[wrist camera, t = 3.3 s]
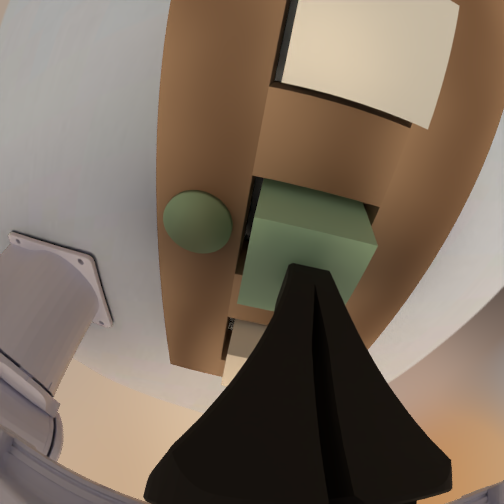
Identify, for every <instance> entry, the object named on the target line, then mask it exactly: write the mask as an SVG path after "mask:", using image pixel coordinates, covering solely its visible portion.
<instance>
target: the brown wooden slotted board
mask: <svg viewBox="0 0 504 504" xmlns="http://www.w3.org/2000/svg"><path fill="white" fill-rule="evenodd" d="M451 1H452V2H454V3H456V4H457V5H459V12H458V18H457V24H456V29H455V34H454V39H453V43H452V48H451V52H450V56H449V61H448V65H447V68H446V72H445V76H444V80H443V83H442V87H441V90H440V94H439V97H438V100H437V103H436V107H435V110H434V113H433V116H432V119H431V122H430V125H429V128H428V129H425V128H423V127H421V126H419V125H416V124H414V123H412V122H409V121H407V120H404V119H402V118H400V117H397V116H394V115H392V114H389V113H387V112H384V111H381V110H378V109H376V108H373V107H370V106H367V105H364V104H361V103H358V102H355V101H352V100H348V99H345V98H342V97H338V96H335V95H332V94H328V93H324V92H321V91H317V90H313V89H309V88H305V87H300V86H296V85H291V84H287V83H282V82H278V81H274V80H275V75H276V70H277V65H278V60H279V55H280V50H281V45H282V40H283V35H284V30H285V26H286V21H287V16H288V11H289V6H290V2H291V0H171V3H170V9H169V15H168V21H167V28H166V35H165V43H164V51H163V59H162V69H161V80H160V92H159V106H158V125H157V157H156V197H157V230H158V249H159V265H160V278H161V289H162V300H163V309H164V318H165V327H166V335H167V342H168V349H169V356H170V363H171V364H173V365H177V366H180V367H184V368H188V369H192V370H196V371H200V372H204V373H208V374H212V375H217V376H221V377H223V373H224V368H225V363H226V357H227V352H228V348H229V344H230V339H231V335H232V331H231V330H228V325H229V320H230V318H235V319H240V320H244V321H249V322H254V323H259V324H264V325H268V324H269V322H270V320H271V318H272V316H273V314H274V311H269V310H264V309H260V308H255V307H250V306H245V305H241V304H237V301H238V296H239V291H240V286H241V281H242V276H243V270H244V265H245V260H246V255H247V250H248V245H249V242H248V241H244V236H245V231H246V225H247V220H248V215H249V209H250V204H251V199H252V193H253V188H254V183H255V177H256V176H258V177H262V178H267V179H272V180H276V181H281V182H285V183H290V184H294V185H298V186H303V187H307V188H311V189H315V190H319V191H323V192H327V193H331V194H334V195H338V196H342V197H346V198H349V199H353V200H357V201H360V202H363V205H364V208H365V210H366V213H367V216H368V219H369V221H370V224H371V227H372V230H373V233H374V236H375V239H376V242H377V245H378V247H377V249H376V251H375V253H374V255H373V256H372V258H371V260H370V262H369V264H368V266H367V268H366V270H365V272H364V273H363V275H362V277H361V279H360V281H359V282H358V284H357V286H356V288H355V290H354V291H353V293H352V295H351V297H350V298H349V300H348V302H347V303H346V305H345V306H346V308H347V310H348V312H349V314H350V316H351V319H352V321H353V323H354V325H355V327H356V329H357V331H358V333H359V335H360V337H361V339H362V341H363V343H364V344H365V346H366V348H367V350H368V349H369V348H370V346H371V345H372V344H373V343H374V342H375V340H376V339H377V338H378V337H379V335H380V334H381V333H382V332H383V330H384V329H385V328H386V327H387V325H388V324H389V323H390V322H391V320H392V319H393V318H394V316H395V315H396V314H397V312H398V311H399V310H400V308H401V307H402V306H403V304H404V303H405V301H406V300H407V299H408V297H409V296H410V294H411V293H412V292H413V290H414V289H415V287H416V286H417V284H418V283H419V281H420V280H421V278H422V277H423V275H424V274H425V272H426V271H427V269H428V268H429V266H430V265H431V263H432V261H433V260H434V258H435V257H436V255H437V253H438V252H439V250H440V248H441V247H442V245H443V243H444V242H445V240H446V238H447V236H448V235H449V233H450V231H451V229H452V228H453V226H454V224H455V222H456V220H457V218H458V217H459V215H460V213H461V211H462V209H463V207H464V205H465V203H466V201H467V199H468V197H469V195H470V193H471V191H472V189H473V186H474V184H475V182H476V180H477V178H478V176H479V173H480V171H481V169H482V166H483V164H484V162H485V159H486V157H487V154H488V152H489V149H490V147H491V144H492V141H493V139H494V136H495V133H496V130H497V127H498V125H499V122H500V118H501V115H502V112H503V109H504V0H451Z"/></svg>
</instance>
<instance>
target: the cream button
mask: <svg viewBox="0 0 504 504" xmlns="http://www.w3.org/2000/svg"><path fill="white" fill-rule="evenodd" d="M267 326H268V325H264V324H259V323H254V322H249V321H244V320H240V319H235V321H234V326H233V330H232V335H231V339H230V344H229V348H228V352H227V357H226V363H225V368H224V373H223V378H222V383H221V385H224V386H228V385H229V383H230V382H231V381H232V380H233V378H234V377H235V376H236V374H237V373H238V371H239V370H240V369H241V367H242V366H243V365H244V363H245V362H246V360H247V359H248V357H249V356H250V354H251V353H252V351H253V350H254V348H255V347H256V345H257V343H258V342H259V340H260V338H261V337H262V335H263V333H264V331H265V330H266V328H267Z"/></svg>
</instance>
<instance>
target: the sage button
mask: <svg viewBox="0 0 504 504" xmlns="http://www.w3.org/2000/svg"><path fill="white" fill-rule="evenodd" d="M377 247H378V245H377V242H376V239H375V236H374V233H373V230H372V227H371V224H370V221H369V219H368V216H367V213H366V210H365V208H364V205H363V202H360V201H357V200H353V199H349V198H346V197H342V196H338V195H334V194H331V193H327V192H323V191H319V190H315V189H311V188H307V187H303V186H298V185H294V184H290V183H285V182H281V181H276V180H272V179H267V178H264V180H263V184H262V188H261V192H260V196H259V200H258V204H257V208H256V212H255V216H254V220H253V225H252V230H251V235H250V240H249V245H248V250H247V255H246V260H245V265H244V270H243V276H242V281H241V286H240V291H239V296H238V301H237V304H241V305H245V306H250V307H255V308H260V309H264V310H269V311H274V309H275V304H276V300H277V297H278V294H279V291H280V289H281V286H282V283H283V280H284V277H285V274H286V271H287V268H288V265H289V264H291V263H296V264H300V265H305V266H310V267H314V268H319V269H324V270H328V271H330V273H331V275H332V277H333V279H334V281H335V284H336V286H337V288H338V290H339V293H340V295H341V297H342V299H343V301H344V304H345V305H346V303H347V302H348V300H349V298H350V297H351V295H352V293H353V291H354V290H355V288H356V286H357V284H358V282H359V281H360V279H361V277H362V275H363V273H364V272H365V270H366V268H367V266H368V264H369V262H370V260H371V258H372V256H373V255H374V253H375V251H376V249H377Z"/></svg>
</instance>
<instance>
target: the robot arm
mask: <svg viewBox="0 0 504 504" xmlns="http://www.w3.org/2000/svg"><path fill="white" fill-rule="evenodd" d="M8 238H9V241H10V243H11V244H10V245H9V246H8V247H7V248H6V249H5V250H4V252H3V253H2V254H1V255H0V504H416V501H417V500H421V499H425V498H429V497H433V496H436V495H439V494H442V493H446V492H449V491H450V490H451V489H452V467H451V460H450V459H449V458H448V457H447V456H446V455H445V453H444V452H443V451H442V450H441V449H439V447H438V446H437V445H436V444H435V443H434V442H433V441H432V440H431V439H430V438H429V437H428V436H427V435H426V434H425V432H424V431H423V430H422V429H421V428H420V426H419V425H418V424H417V423H416V422H415V421H414V419H413V418H412V417H411V415H410V414H409V413H408V412H407V410H406V409H405V407H404V406H403V405H402V403H401V402H400V401H399V399H398V398H397V397H396V395H395V394H394V392H393V391H392V389H391V388H390V387H389V385H388V384H387V382H386V380H385V379H384V377H383V376H382V374H381V372H380V371H379V369H378V368H377V366H376V364H375V363H374V361H373V359H372V357H371V355H370V354H369V352H368V350H367V348H366V346H365V344H364V343H363V341H362V339H361V337H360V335H359V333H358V331H357V329H356V327H355V325H354V323H353V321H352V319H351V316H350V314H349V312H348V310H347V308H346V306H345V304H344V301H343V299H342V297H341V295H340V293H339V290H338V288H337V286H336V284H335V281H334V279H333V277H332V275H331V273H330V271H328V270H324V269H319V268H314V267H310V266H305V265H300V264H296V263H291V264H289V265H288V268H287V271H286V274H285V277H284V280H283V283H282V286H281V289H280V291H279V294H278V297H277V300H276V304H275V309H274V314H273V316H272V318H271V320H270V322H269V324H268V326H267V328H266V330H265V331H264V333H263V335H262V337H261V338H260V340H259V342H258V343H257V345H256V347H255V348H254V350H253V351H252V353H251V354H250V356H249V357H248V359H247V360H246V362H245V363H244V365H243V366H242V367H241V369H240V370H239V371H238V373H237V374H236V376H235V377H234V378H233V380H232V381H231V382H230V383H229V385H228V386H227V387H226V388H225V390H224V391H223V392H222V393H221V394H220V396H219V397H218V398H217V399H216V400H215V401H214V403H213V404H212V405H211V406H210V407H209V408H208V409H207V411H206V412H205V413H204V414H203V415H202V416H201V417H200V418H199V419H198V421H196V423H194V424H193V425H192V426H191V427H190V428H189V429H188V430H187V431H186V432H185V433H184V434H183V435H182V436H181V437H180V438H179V439H178V440H177V441H176V442H175V443H174V444H173V445H172V446H171V447H170V449H169V450H168V452H167V453H166V454H165V455H164V457H163V458H162V459H161V460H160V462H159V463H158V464H157V465H156V467H155V468H154V469H153V471H152V472H151V474H150V475H149V478H148V481H147V484H146V488H145V492H144V496H143V497H144V499H145V500H146V501H147V502H144V501H142V500H138V499H136V498H133V497H130V496H128V495H125V494H122V493H120V492H117V491H115V490H112V489H110V488H108V487H105V486H103V485H101V484H98V483H96V482H94V481H92V480H90V479H88V478H86V477H84V476H82V475H80V474H78V473H76V472H74V471H72V470H70V469H68V468H66V467H64V466H63V465H61V464H59V463H57V460H58V458H59V456H60V454H61V450H62V446H63V427H62V421H61V418H60V415H59V413H58V412H57V411H58V409H59V406H60V403H58V402H57V401H56V400H55V399H53V398H52V397H54V395H55V392H56V391H57V388H58V386H59V384H60V382H61V380H62V378H63V376H64V373H65V372H66V370H67V368H68V366H69V363H70V361H71V360H72V358H73V356H74V354H75V352H76V350H77V348H78V346H79V344H80V342H81V340H82V339H83V337H84V335H85V333H86V331H87V329H88V328H89V326H90V324H91V322H93V323H96V324H99V325H101V326H104V327H107V328H111V327H112V325H113V322H112V319H111V316H110V313H109V310H108V307H107V304H106V301H105V297H104V294H103V291H102V287H101V284H100V280H99V277H98V273H97V269H96V266H95V262H94V259H93V258H92V257H91V256H90V255H87V254H84V253H80V252H77V251H73V250H70V249H66V248H63V247H60V246H56V245H53V244H50V243H46V242H43V241H40V240H36V239H33V238H30V237H27V236H24V235H21V234H18V233H14V232H10V233H9V234H8ZM148 502H149V503H148ZM446 504H504V480H503V481H502V482H499V483H497V484H494V485H492V486H488V487H485V488H482V489H479V490H476V491H474V492H471V493H469V494H466V495H464V496H462V497H461V498H460V499H457V500H455V501H452V502H449V503H446Z"/></svg>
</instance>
